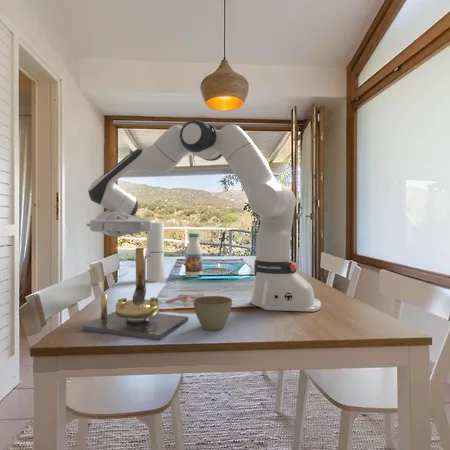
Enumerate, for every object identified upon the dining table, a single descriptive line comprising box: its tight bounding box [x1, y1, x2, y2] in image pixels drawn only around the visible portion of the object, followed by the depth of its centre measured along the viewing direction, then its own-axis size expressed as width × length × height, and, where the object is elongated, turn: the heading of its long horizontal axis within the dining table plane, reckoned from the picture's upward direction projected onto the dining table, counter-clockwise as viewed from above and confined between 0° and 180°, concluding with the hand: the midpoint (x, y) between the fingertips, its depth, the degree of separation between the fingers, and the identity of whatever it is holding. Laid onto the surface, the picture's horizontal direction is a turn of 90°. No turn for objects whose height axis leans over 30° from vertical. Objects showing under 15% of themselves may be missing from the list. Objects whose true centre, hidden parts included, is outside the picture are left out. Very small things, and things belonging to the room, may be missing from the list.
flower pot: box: [192, 295, 233, 331], centre depth 94 cm, size 10×10×7 cm
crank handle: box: [115, 247, 160, 318], centre depth 100 cm, size 20×11×15 cm, turn 10°
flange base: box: [82, 292, 189, 341], centre depth 96 cm, size 22×16×8 cm
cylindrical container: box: [146, 221, 165, 283], centre depth 157 cm, size 7×7×25 cm
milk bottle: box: [184, 232, 203, 278], centre depth 167 cm, size 8×8×20 cm
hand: (127, 226), depth 118 cm, fingers open, 8 cm apart
